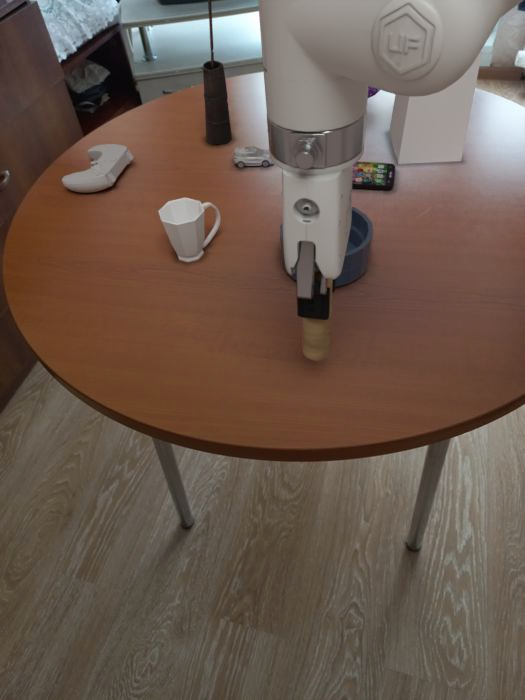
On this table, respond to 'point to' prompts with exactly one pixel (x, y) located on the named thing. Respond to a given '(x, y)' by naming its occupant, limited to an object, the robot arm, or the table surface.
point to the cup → (187, 226)
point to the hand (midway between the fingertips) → (316, 302)
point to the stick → (317, 332)
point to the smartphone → (373, 175)
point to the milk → (434, 122)
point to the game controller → (100, 169)
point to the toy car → (252, 157)
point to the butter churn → (215, 97)
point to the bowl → (349, 249)
